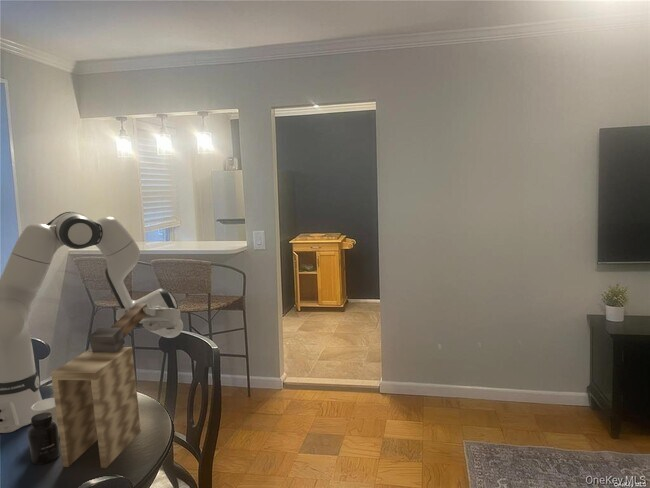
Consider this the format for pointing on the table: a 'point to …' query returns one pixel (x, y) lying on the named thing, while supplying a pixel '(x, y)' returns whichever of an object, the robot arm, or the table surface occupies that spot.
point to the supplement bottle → (43, 439)
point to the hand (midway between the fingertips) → (136, 309)
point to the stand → (96, 404)
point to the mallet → (116, 331)
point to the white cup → (45, 408)
